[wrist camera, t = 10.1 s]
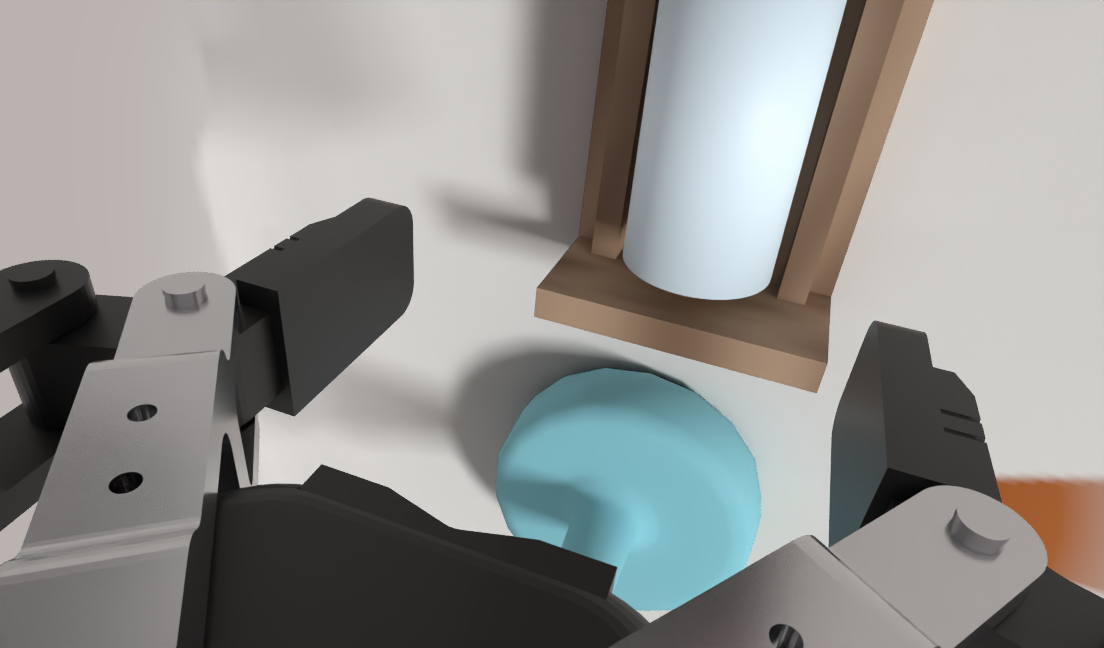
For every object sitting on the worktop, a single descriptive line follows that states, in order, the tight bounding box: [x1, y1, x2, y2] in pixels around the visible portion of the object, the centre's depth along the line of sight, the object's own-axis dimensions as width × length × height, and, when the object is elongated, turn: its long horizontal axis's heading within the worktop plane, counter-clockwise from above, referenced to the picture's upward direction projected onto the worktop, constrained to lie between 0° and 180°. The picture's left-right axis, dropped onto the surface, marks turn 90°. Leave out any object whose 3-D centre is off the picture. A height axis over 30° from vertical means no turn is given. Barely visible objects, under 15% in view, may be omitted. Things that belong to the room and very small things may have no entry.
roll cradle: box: [534, 0, 934, 393], centre depth 23 cm, size 10×15×6 cm, turn 174°
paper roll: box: [623, 0, 847, 300], centre depth 23 cm, size 11×5×5 cm, turn 175°
